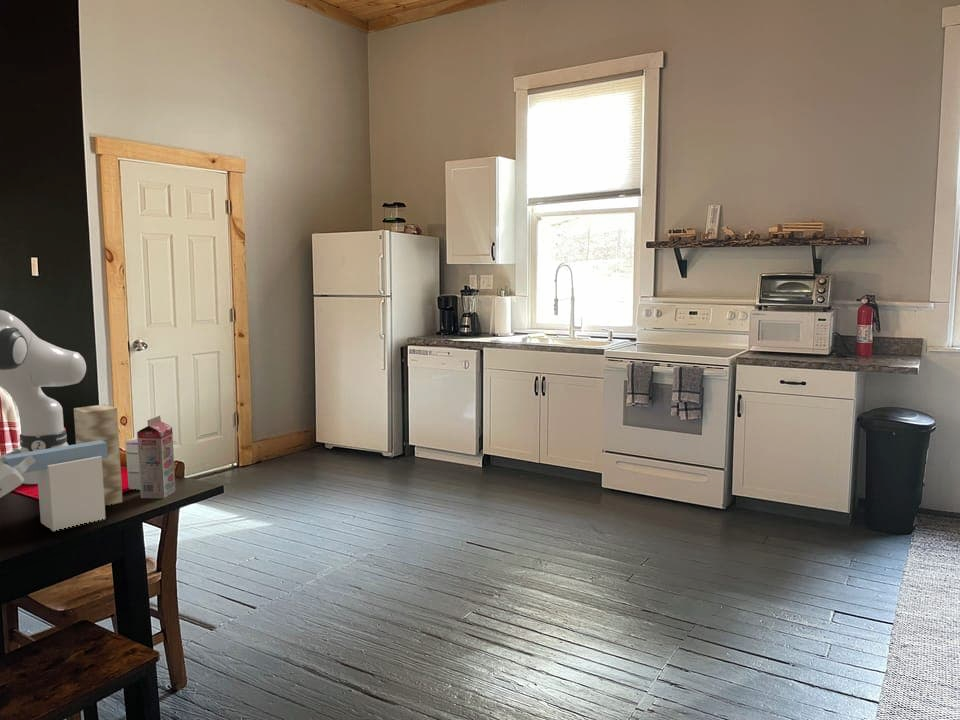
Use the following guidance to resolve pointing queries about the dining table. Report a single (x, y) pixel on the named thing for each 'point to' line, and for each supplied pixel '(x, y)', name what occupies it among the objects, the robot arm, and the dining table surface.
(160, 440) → the juice carton
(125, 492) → the dining table surface
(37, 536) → the dining table surface
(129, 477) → the syrup box
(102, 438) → the post
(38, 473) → the cream block
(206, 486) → the dining table surface
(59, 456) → the bar
